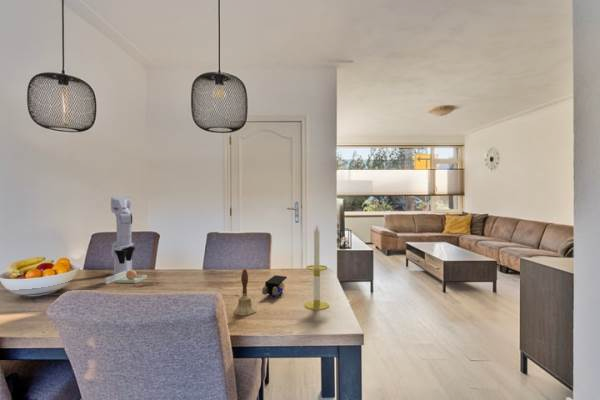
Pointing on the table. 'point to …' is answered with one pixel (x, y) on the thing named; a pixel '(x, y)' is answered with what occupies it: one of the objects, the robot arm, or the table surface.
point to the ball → (131, 274)
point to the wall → (115, 277)
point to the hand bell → (244, 299)
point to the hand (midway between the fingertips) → (125, 262)
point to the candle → (316, 277)
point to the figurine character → (274, 286)
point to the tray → (135, 280)
